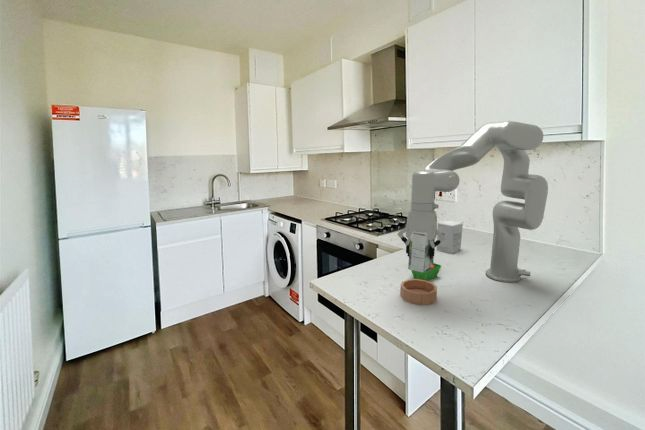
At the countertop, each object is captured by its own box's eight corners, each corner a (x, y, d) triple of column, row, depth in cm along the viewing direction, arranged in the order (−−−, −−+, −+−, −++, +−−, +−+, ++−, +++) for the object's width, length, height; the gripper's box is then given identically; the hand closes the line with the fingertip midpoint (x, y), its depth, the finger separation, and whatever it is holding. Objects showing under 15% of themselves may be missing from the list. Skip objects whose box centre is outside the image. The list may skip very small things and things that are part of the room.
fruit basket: (424, 284, 126) (425, 257, 123) (406, 277, 133) (407, 251, 130) (441, 277, 132) (442, 251, 130) (423, 270, 139) (424, 246, 137)
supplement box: (435, 250, 167) (437, 222, 164) (445, 246, 172) (447, 219, 169) (451, 254, 160) (453, 225, 157) (461, 250, 165) (463, 222, 162)
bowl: (437, 292, 118) (438, 282, 118) (434, 307, 107) (435, 296, 107) (403, 286, 123) (404, 277, 123) (397, 300, 112) (398, 290, 111)
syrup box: (414, 264, 117) (416, 226, 114) (430, 268, 113) (432, 229, 111) (408, 269, 113) (409, 230, 110) (424, 273, 109) (426, 232, 106)
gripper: (449, 206, 109) (446, 256, 112) (398, 204, 115) (397, 250, 119) (449, 210, 102) (445, 263, 105) (394, 207, 109) (393, 257, 112)
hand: (419, 256), depth 112 cm, fingers closed on syrup box, 6 cm apart
